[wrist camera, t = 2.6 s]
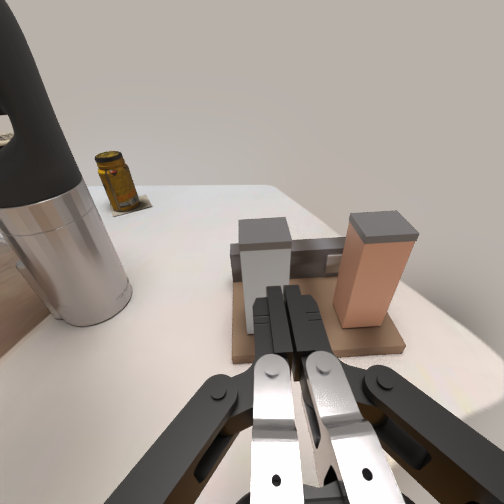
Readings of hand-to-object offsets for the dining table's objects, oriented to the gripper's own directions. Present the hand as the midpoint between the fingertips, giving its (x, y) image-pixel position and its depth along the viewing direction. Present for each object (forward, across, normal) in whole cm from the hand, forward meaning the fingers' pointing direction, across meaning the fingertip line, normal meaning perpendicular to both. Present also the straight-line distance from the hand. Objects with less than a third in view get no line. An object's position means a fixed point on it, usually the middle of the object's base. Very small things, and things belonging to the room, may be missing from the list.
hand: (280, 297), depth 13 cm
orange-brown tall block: (+11, -11, +16) cm, 23 cm away
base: (+14, -6, +18) cm, 23 cm away
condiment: (+48, +28, +18) cm, 59 cm away
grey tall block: (+12, 0, +16) cm, 20 cm away
